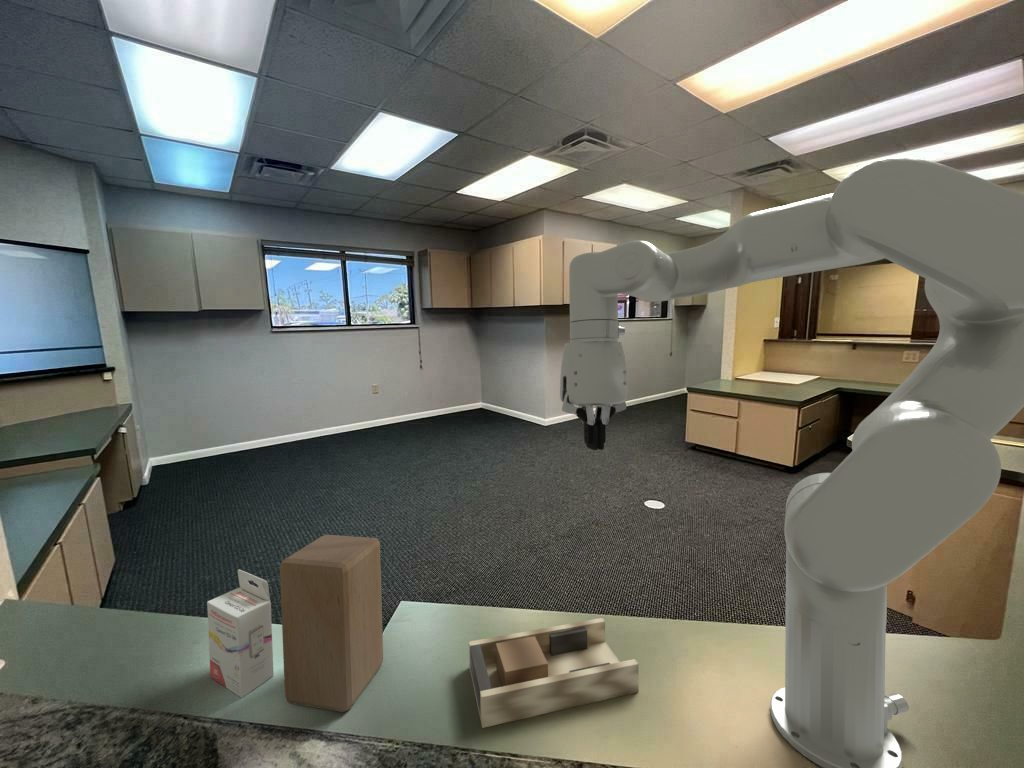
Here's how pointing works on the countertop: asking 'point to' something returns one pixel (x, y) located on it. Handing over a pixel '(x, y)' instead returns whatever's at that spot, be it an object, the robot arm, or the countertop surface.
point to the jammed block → (520, 661)
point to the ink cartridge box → (241, 636)
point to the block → (331, 621)
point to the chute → (552, 673)
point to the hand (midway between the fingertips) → (594, 448)
